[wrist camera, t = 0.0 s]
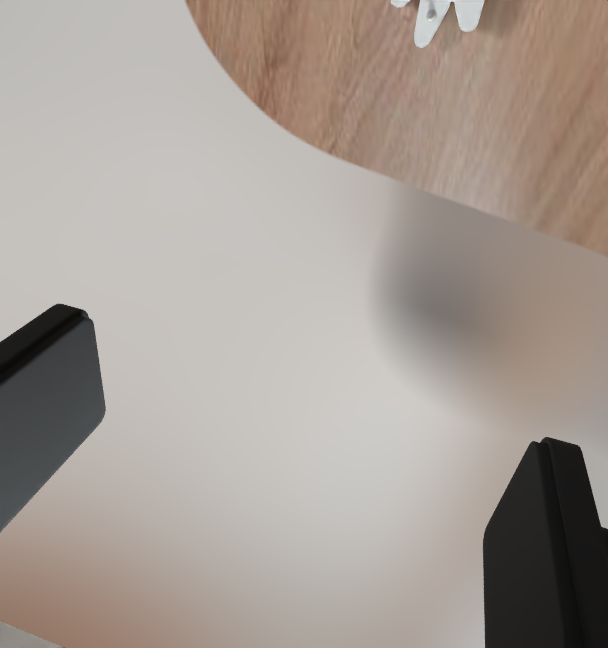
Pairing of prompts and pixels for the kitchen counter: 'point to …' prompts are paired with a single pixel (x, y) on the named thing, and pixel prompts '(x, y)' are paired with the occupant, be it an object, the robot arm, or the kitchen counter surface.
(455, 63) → the kitchen counter surface
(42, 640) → the robot arm
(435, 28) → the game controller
